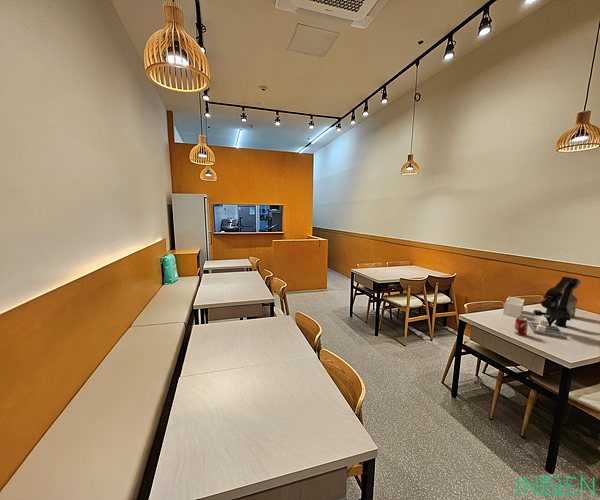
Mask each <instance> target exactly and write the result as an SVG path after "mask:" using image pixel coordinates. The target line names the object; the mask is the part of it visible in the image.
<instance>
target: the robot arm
mask: <svg viewBox="0 0 600 500" xmlns="http://www.w3.org/2000/svg"><path fill="white" fill-rule="evenodd" d="M580 284H581V280H579V278H576V277H570V276H561V279H560V280H559V282H558V283H557V284H556V285H555V286H553V287H550V288H549V289H548V290H546V293H544V294H545V295H544V297H543V298H544V300H542V301H541V302H540V305H541V306H542V308H545V309H546V310H545V312H544V311H542V310H540V309H534V310H533V314H534V316H538V317H539V316H540V317H542V316H543V317H544V318H545V319H546V322H547V323H548V325H549V326H552V325H553V324H554V326H556V327H561V328H567V329H568V325H567V321H569V322H570V321H571V320H572V318H571V315H570V310H569V308H568V305H569V302H570V299H571V296H572V294H573V293H574V290H575V289H577V288H578V287H579V285H580ZM559 300H561V302H560V305H558V304H559Z"/></svg>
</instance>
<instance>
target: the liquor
mask: <svg viewBox="0 0 600 500" xmlns="http://www.w3.org/2000/svg"><path fill="white" fill-rule="evenodd" d="M560 302H561V300H559V304H558V305H560ZM577 303H578V298H577V297H576V296H575V295H574V294H573V293H572V296H571V299H570V302H569V305H568V308H569V310H570V315H571V319H572V318H575V315H576V310H577Z"/></svg>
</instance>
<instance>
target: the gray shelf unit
mask: <svg viewBox="0 0 600 500" xmlns="http://www.w3.org/2000/svg"><path fill="white" fill-rule="evenodd" d="M537 325H539V322H538V323H537V322H534V321H528V327H529V328H530V330H532V332H533V334H535V335H541V336H545V337H550V338H556V339H561V340H566V336H565V334H564V333H563V332H562V331H561V330H560V328H559V326H556V325H551V326H549V325H547V327H546V329H545V332H542V331H537V330H536V329H537Z"/></svg>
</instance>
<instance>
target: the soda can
mask: <svg viewBox="0 0 600 500" xmlns="http://www.w3.org/2000/svg"><path fill="white" fill-rule="evenodd" d="M528 323H529V321H528V319H527V318H525V317H522V316H520V317H517V318H516V319H515V323H514V329H513V333H515V334H516V335H518V336H527V332H528V327H529V324H528Z"/></svg>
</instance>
